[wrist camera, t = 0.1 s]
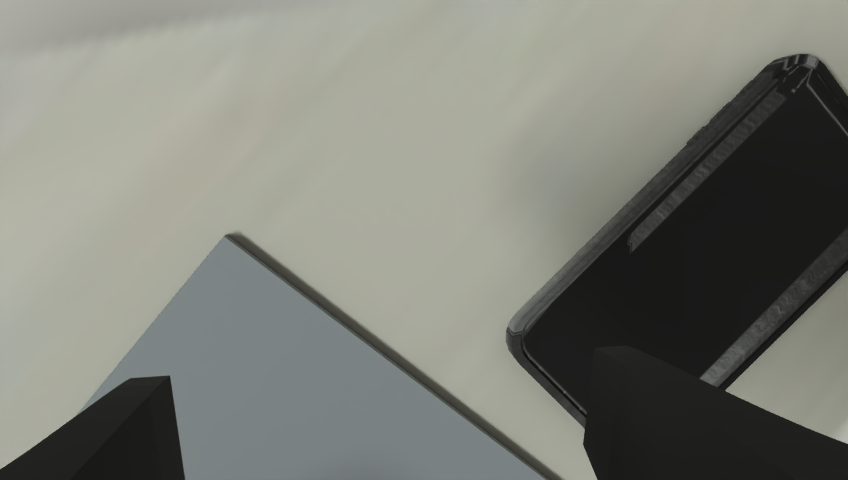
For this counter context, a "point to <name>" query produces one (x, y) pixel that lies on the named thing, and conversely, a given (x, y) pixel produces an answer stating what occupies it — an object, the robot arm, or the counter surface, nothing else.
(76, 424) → the robot arm
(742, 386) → the counter surface
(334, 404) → the rubber mat
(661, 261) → the phone
